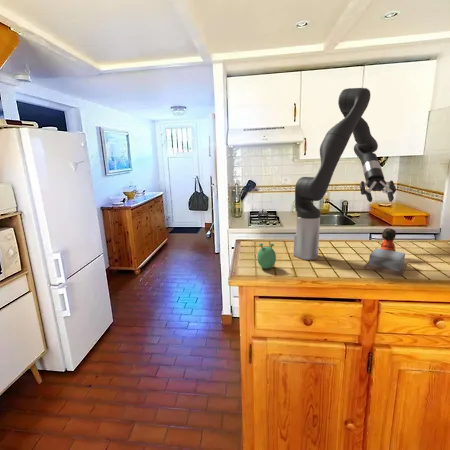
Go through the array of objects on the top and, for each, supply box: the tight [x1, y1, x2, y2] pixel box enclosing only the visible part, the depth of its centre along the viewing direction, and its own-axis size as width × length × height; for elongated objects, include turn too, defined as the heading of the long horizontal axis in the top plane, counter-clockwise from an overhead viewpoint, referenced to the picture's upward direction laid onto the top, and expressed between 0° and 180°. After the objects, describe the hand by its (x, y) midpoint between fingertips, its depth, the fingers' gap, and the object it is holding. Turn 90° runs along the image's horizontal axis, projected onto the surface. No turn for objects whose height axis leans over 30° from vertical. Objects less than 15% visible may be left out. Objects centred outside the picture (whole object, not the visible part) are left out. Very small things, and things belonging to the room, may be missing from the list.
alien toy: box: [256, 242, 277, 270], centre depth 109 cm, size 7×8×10 cm
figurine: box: [379, 227, 397, 252], centre depth 118 cm, size 6×6×12 cm
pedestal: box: [364, 247, 408, 277], centre depth 108 cm, size 12×12×5 cm
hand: (381, 200), depth 125 cm, fingers open, 8 cm apart
